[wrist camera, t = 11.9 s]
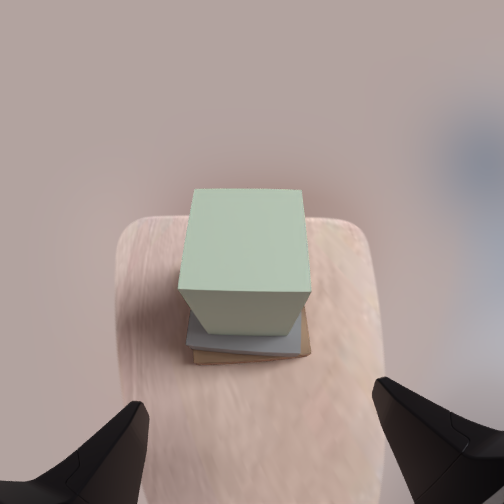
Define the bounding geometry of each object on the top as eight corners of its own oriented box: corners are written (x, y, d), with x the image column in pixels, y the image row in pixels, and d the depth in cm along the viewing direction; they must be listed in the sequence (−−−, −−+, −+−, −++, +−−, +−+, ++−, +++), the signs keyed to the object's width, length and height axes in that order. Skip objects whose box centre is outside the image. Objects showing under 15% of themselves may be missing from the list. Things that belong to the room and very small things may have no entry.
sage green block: (287, 335, 18) (311, 291, 11) (208, 334, 18) (177, 288, 11) (285, 265, 21) (301, 190, 14) (214, 264, 21) (194, 188, 14)
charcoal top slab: (296, 356, 19) (300, 353, 18) (191, 349, 20) (185, 344, 18) (297, 263, 23) (301, 251, 22) (205, 257, 24) (201, 246, 22)
